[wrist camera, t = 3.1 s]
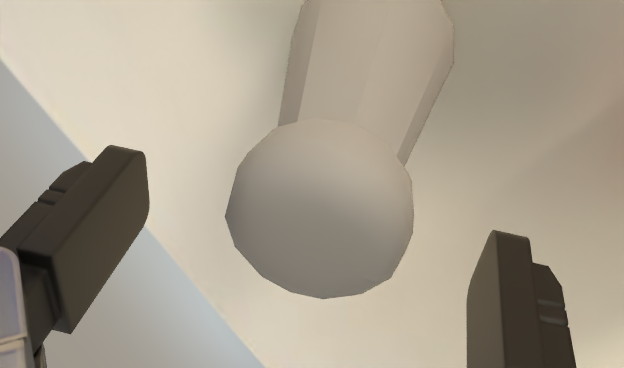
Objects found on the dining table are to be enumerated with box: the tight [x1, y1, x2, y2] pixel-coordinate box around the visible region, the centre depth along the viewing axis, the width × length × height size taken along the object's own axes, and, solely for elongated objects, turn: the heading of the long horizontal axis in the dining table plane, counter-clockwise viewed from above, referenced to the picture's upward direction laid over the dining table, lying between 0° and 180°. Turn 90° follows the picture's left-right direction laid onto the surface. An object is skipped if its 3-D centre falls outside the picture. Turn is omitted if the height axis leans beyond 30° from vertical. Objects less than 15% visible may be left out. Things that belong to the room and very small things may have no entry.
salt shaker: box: [225, 0, 454, 299], centre depth 17 cm, size 6×6×13 cm
